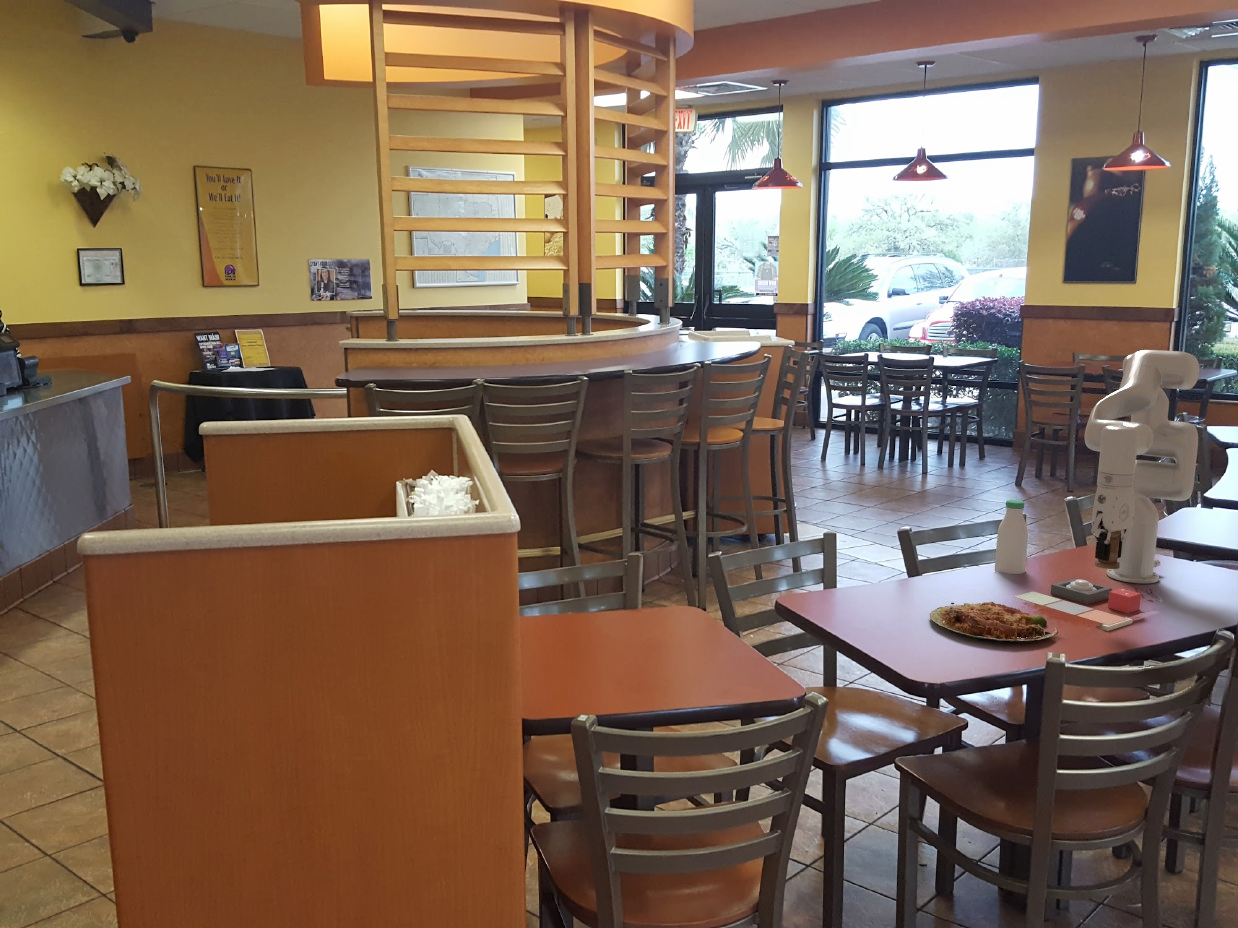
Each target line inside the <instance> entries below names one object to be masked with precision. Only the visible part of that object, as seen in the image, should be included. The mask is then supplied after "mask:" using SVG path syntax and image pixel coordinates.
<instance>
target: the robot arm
mask: <svg viewBox="0 0 1238 928" xmlns="http://www.w3.org/2000/svg"><path fill="white" fill-rule="evenodd" d="M1199 364H1200V363H1199V361H1198V359H1197V357H1196V356H1195V355H1193V354H1192V353H1188V352H1185V351H1177V350H1161V349H1160V350H1158V349H1144V350H1143V349H1141V350H1139V351H1135V352H1134V353H1132V354H1129V355H1127V356H1126V357H1124V359H1123V361H1122V373H1123V374H1122V379H1121V381H1120V385H1119V388H1118V389H1117V390H1115V391H1114V392H1112V393H1110V394H1109V395H1106V396H1105V397H1103V399H1101V400H1099V401H1098V402H1097V403H1096V404H1095V405H1094V406H1093V408H1092V409H1091V411H1090V415H1089V417H1088V421H1087V424H1086V427H1085V431H1084V443H1085V445H1086V447H1087V448H1088V449H1089V450H1091V451H1095V452H1099V459H1098V460H1099V462H1098V468H1097V470H1098V471H1097V479H1096V486H1097V487H1096V491H1095V496H1094V500H1093V506H1092V514H1091V526H1092V527H1091V530H1090V533H1091V534H1092V535H1093V536H1094V538H1095V539H1094V541H1095V543H1096V544H1095V552H1094V553H1095V554H1094V558H1095V560H1096V559H1100V560H1104V561H1109V557H1110V547H1111V544H1109V540H1110V535H1111V532H1115V531H1120V530H1121V534H1120V535H1119V536H1118V537H1120V538H1119V548H1118V558H1117V561H1118V562H1119V563H1120V568H1118V569H1107V570H1106V576H1108V577H1109V578H1111V579H1114V580H1117V581H1121V582H1125V583H1126V582H1127V583H1131V584H1144V585H1145V584H1155V583H1157V582H1159V580H1160V576H1159V575H1158V573H1156V572H1154V569H1155V568H1157V567H1160V566H1161V561H1160V560H1159V559H1155V555H1156V547H1157V541H1158V540H1157V537H1158V530H1159V529H1158V528H1159V520H1160V519H1159V518H1160V516H1159V515H1160V514H1159V512H1158V509H1157V507H1156V506H1155V504H1154V503H1153V502H1152V500H1151V499H1158V500H1159V499H1160V500H1168V501H1177V502H1183V501H1186V500H1188V499H1190V497H1191V496H1192V494H1193V491H1194V485H1195V478H1196V477H1195V476H1196V467H1197V455H1198V449H1199V448H1198V447H1199V433H1198V429H1197V427H1196V426H1195V425H1194V424H1192V423H1190V422H1187V421H1186V422H1185V421H1175V420H1169V417H1168V416H1169V409H1170V408H1169V407H1170V400H1169V398H1168V396H1167V394H1166V392H1165V391H1164V390H1163V389H1173V390H1177V389H1178V390H1191V389H1193V387H1194V386H1195V385H1196V384H1197V382H1198V380H1199V375H1200V365H1199ZM1129 416H1130V421H1124V420H1116V419H1119V418H1124V417H1129ZM1141 455H1142V456H1147V457H1156V458H1157V457H1160V458H1166V459H1167V458H1168V459H1173V460H1174V461H1175V463H1173V462H1172V463H1171V462H1163V461H1162V462H1161V461H1157V460H1156V461H1154V460H1143V459H1137V456H1141ZM1102 526H1104V527H1105V529H1102ZM1106 529H1107V530H1106ZM1102 532H1106V535H1104V533H1102Z"/></svg>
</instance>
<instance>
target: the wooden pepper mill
mask: <svg viewBox="0 0 1238 928" xmlns="http://www.w3.org/2000/svg"><path fill="white" fill-rule="evenodd" d="M1102 529H1105V527H1104V526H1102ZM1106 530H1107V529H1106ZM1102 533H1104V535H1106V532H1102ZM1120 534H1121V530H1120V531H1115V532H1111V535H1110V540H1109V544H1111V547H1110V557H1109V561H1104V560H1100V559H1096V558H1095V561H1094V566H1095V567H1097V568H1100V569H1118V568H1120V563H1119V562H1118V561H1117V558H1118V548H1119V538H1120V537H1118V536H1119V535H1120Z"/></svg>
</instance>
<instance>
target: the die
mask: <svg viewBox="0 0 1238 928" xmlns="http://www.w3.org/2000/svg"><path fill="white" fill-rule="evenodd" d="M1141 598H1142V594H1141V593H1140V592H1136V591H1132V590H1128V589H1125V588H1121V587H1120V588H1117V589H1115V590H1112V591H1110V592H1109V598H1108V599H1107V608H1108V609H1111V610H1115V611H1118V612H1122V613H1126V614H1129V613H1132V612H1135V611H1139V610H1140V605H1141ZM1136 615H1139V613H1135V614H1132V615H1130V616H1128V618H1130V617H1133V616H1136Z"/></svg>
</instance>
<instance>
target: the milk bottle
mask: <svg viewBox="0 0 1238 928" xmlns="http://www.w3.org/2000/svg"><path fill="white" fill-rule="evenodd" d="M1005 509H1006V511H1005V514H1004V517H1003V519H1001V522H1000V524H999V526H998V529H997V536H996V538H997V539H996V545H995V546H996V548H995V549H996V550H995V561H994V571H995V573H999V572H1000V573H1002V574H1003V573H1004V574H1009V575H1010V574H1011V575H1013V574H1014V575H1019V574H1024V573H1025V572H1026V566H1027V556H1028V555H1027V553H1028V542H1029V539H1028V537H1029V531H1028V526H1027V524H1026V521H1025V517H1024V510H1025V502H1024V500H1023V501H1022V500H1019V499H1007V500H1006V502H1005Z"/></svg>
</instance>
